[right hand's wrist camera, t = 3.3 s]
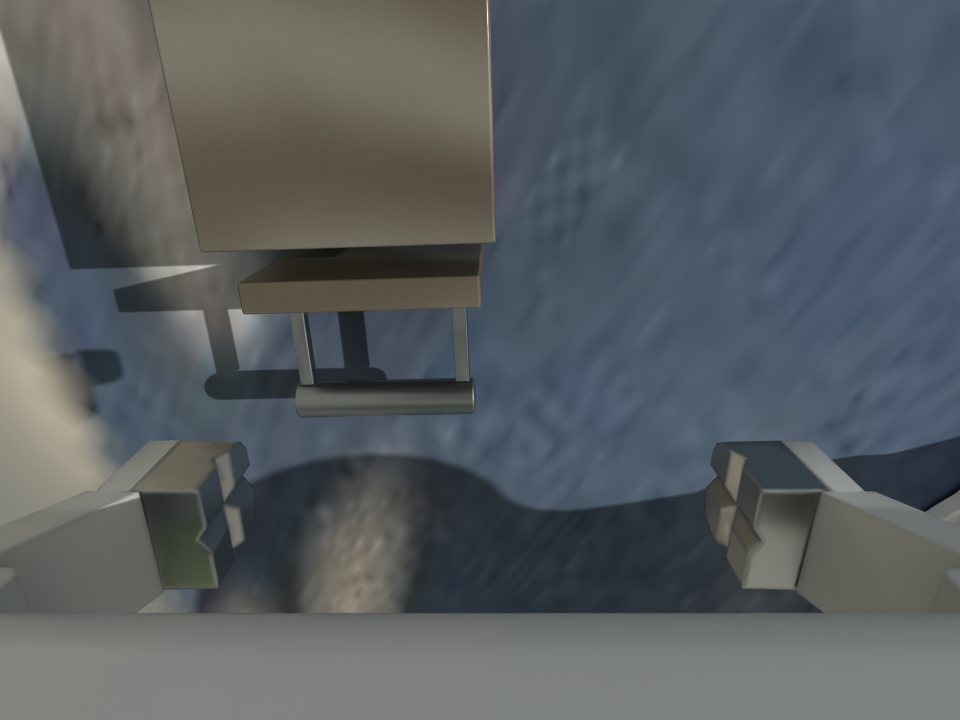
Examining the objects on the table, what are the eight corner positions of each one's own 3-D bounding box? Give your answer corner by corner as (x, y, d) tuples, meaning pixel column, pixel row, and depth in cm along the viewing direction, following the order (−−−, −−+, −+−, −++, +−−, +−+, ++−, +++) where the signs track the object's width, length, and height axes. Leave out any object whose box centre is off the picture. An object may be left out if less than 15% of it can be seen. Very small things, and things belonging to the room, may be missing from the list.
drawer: (487, 381, 29) (486, 446, 23) (314, 385, 30) (268, 450, 24) (469, -156, 22) (459, -267, 16) (234, -143, 22) (135, -247, 16)
